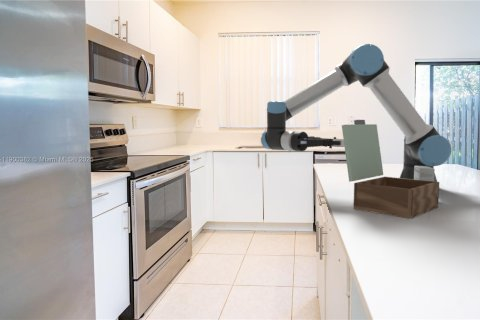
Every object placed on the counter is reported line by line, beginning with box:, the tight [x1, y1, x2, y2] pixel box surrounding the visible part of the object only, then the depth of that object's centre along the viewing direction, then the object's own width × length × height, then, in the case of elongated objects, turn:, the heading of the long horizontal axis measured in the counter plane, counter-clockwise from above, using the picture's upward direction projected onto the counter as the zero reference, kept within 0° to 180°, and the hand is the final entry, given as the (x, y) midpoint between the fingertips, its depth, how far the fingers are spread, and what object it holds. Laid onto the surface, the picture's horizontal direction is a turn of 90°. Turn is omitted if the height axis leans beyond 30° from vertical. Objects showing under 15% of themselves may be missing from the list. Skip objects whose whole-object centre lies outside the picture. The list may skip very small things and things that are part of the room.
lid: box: [341, 119, 384, 182], centre depth 133 cm, size 21×20×1 cm
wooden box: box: [353, 176, 440, 219], centre depth 126 cm, size 21×18×8 cm
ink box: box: [414, 166, 435, 181], centre depth 138 cm, size 9×5×12 cm, turn 168°
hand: (350, 143), depth 136 cm, fingers closed
